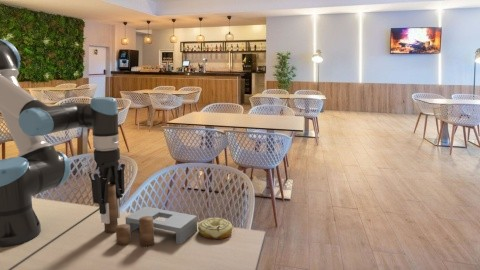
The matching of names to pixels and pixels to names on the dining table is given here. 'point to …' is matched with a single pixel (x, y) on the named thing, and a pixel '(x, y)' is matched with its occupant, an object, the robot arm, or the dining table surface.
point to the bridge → (166, 222)
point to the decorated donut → (215, 228)
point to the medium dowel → (146, 231)
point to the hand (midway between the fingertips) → (110, 219)
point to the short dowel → (123, 234)
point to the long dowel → (111, 209)
